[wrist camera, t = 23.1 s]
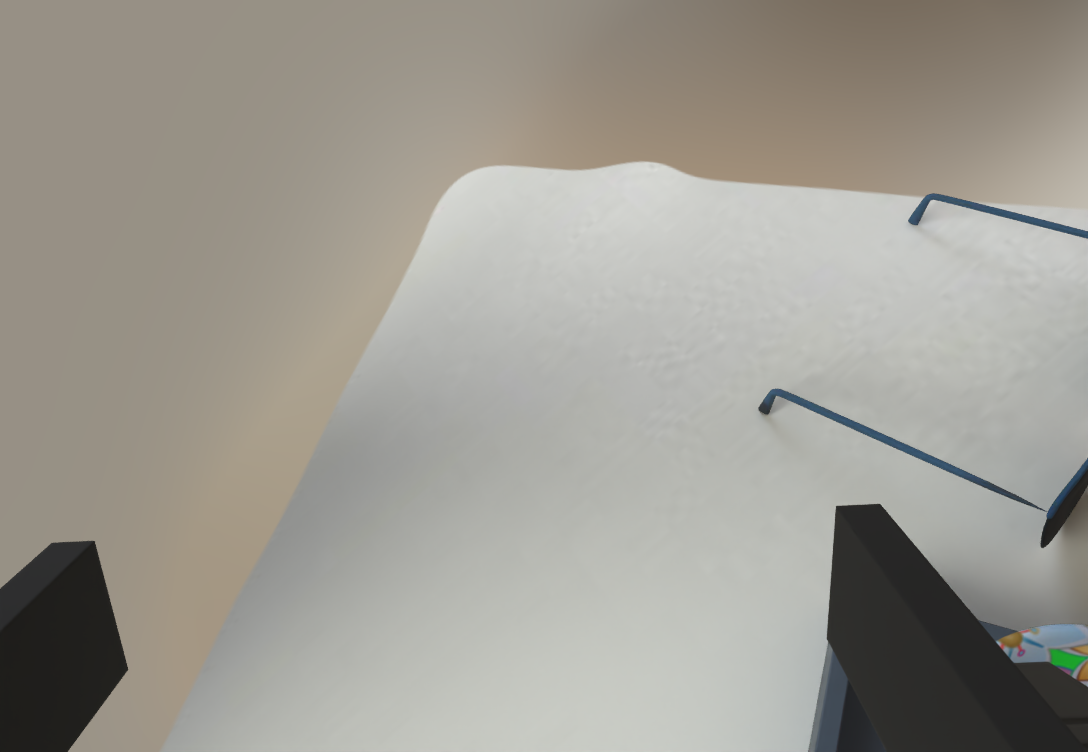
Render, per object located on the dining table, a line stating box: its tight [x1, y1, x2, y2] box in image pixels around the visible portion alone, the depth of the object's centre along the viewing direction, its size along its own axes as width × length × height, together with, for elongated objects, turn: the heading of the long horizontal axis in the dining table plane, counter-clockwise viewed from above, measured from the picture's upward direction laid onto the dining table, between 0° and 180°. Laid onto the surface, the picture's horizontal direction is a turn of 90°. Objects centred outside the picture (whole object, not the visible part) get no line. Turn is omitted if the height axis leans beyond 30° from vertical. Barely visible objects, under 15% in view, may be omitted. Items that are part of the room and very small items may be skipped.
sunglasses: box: [759, 194, 1088, 548], centre depth 42 cm, size 17×15×5 cm
